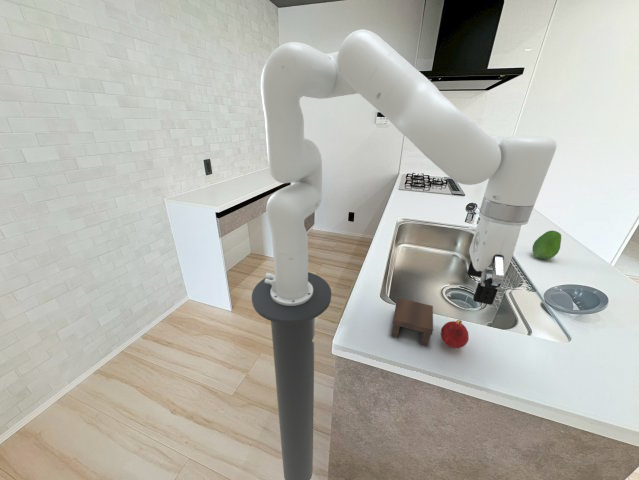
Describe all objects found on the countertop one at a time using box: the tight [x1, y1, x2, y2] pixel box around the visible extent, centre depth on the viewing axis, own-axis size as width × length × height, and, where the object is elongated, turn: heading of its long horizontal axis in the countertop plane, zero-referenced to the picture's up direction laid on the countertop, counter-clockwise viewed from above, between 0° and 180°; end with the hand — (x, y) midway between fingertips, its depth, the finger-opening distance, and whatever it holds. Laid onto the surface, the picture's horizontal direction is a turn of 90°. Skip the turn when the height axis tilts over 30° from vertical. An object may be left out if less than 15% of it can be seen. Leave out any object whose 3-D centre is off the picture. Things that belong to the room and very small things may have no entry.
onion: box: [440, 319, 470, 349], centre depth 60 cm, size 6×6×8 cm
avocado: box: [531, 230, 562, 261], centre depth 99 cm, size 8×8×12 cm
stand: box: [390, 297, 434, 347], centre depth 66 cm, size 9×9×6 cm
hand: (478, 288), depth 54 cm, fingers open, 9 cm apart
